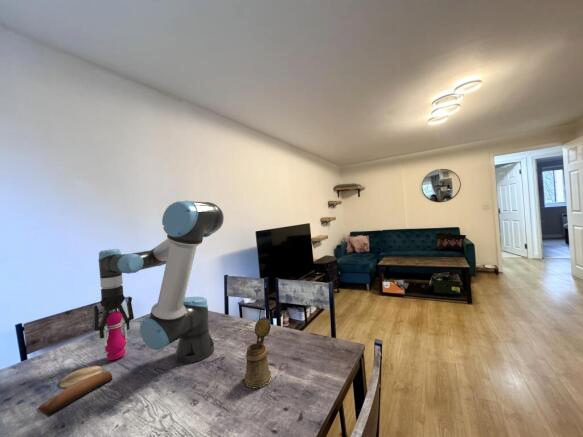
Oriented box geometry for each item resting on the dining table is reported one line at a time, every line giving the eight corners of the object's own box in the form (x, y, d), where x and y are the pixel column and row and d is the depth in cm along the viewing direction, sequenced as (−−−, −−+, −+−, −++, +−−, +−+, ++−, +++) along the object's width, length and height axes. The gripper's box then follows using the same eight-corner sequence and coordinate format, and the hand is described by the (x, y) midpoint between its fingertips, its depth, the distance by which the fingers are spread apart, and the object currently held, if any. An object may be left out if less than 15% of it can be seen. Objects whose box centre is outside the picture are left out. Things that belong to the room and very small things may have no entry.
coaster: (105, 374, 94) (105, 372, 94) (62, 392, 85) (62, 390, 85) (97, 363, 101) (97, 362, 101) (57, 379, 92) (57, 377, 92)
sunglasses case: (98, 375, 94) (103, 361, 92) (109, 388, 91) (114, 374, 90) (33, 410, 77) (38, 394, 76) (44, 427, 75) (49, 411, 73)
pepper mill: (118, 360, 101) (115, 310, 102) (101, 361, 102) (97, 311, 102) (130, 350, 109) (127, 304, 109) (114, 351, 109) (111, 305, 109)
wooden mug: (279, 365, 93) (276, 317, 93) (265, 390, 80) (262, 333, 80) (256, 363, 96) (254, 315, 96) (240, 386, 82) (237, 331, 82)
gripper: (134, 280, 115) (138, 330, 115) (80, 291, 100) (84, 349, 100) (140, 282, 110) (144, 334, 110) (84, 294, 96) (88, 354, 95)
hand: (115, 341), depth 105 cm, fingers closed on pepper mill, 6 cm apart
